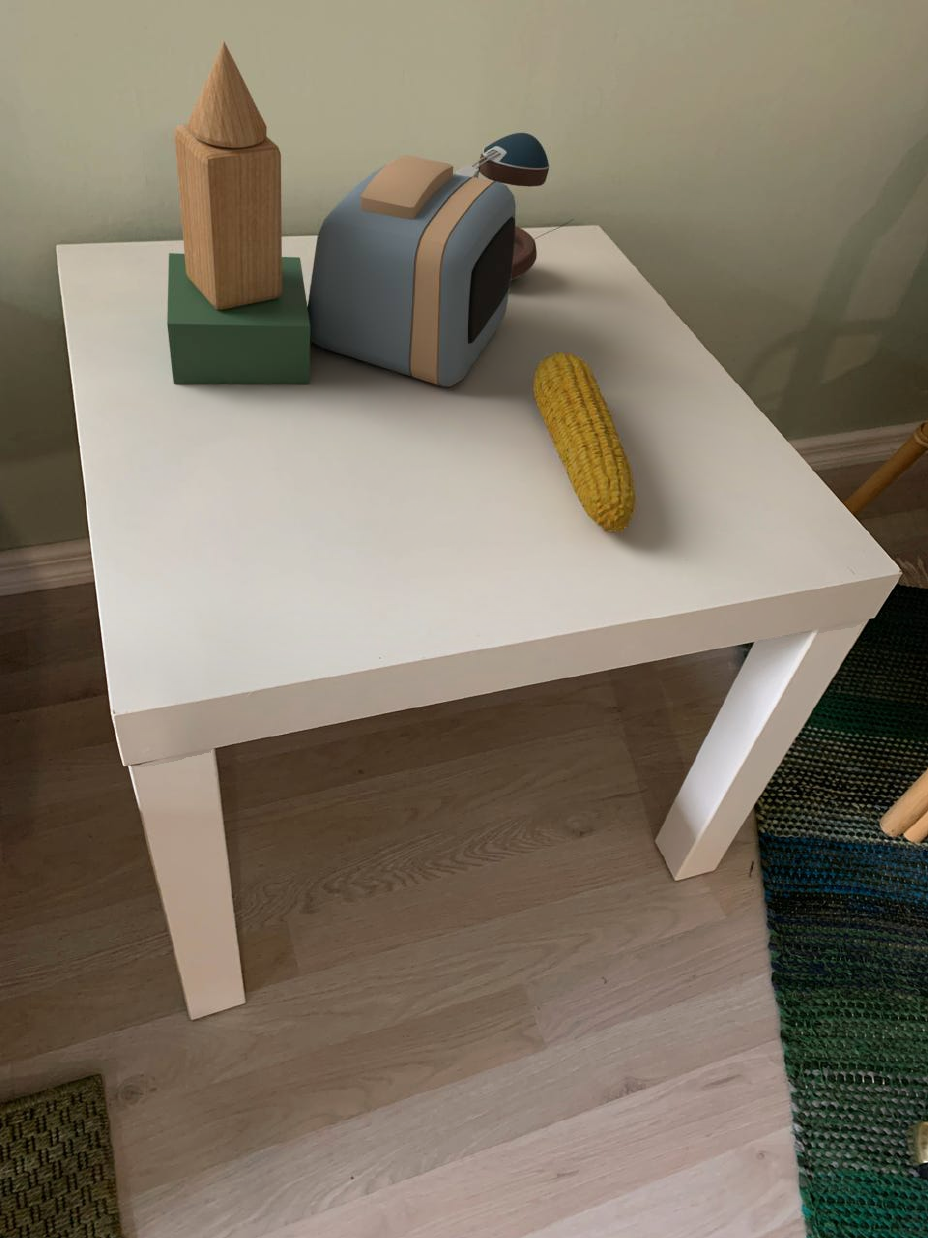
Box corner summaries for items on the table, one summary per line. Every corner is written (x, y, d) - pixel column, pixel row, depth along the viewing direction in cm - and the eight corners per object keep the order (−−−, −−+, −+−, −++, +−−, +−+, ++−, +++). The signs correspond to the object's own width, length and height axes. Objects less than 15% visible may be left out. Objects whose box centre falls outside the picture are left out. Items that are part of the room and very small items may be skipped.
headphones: (549, 231, 112) (406, 297, 102) (569, 97, 100) (409, 157, 90) (588, 255, 109) (445, 325, 100) (613, 121, 97) (453, 185, 88)
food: (520, 396, 91) (532, 341, 86) (576, 395, 92) (590, 341, 88) (586, 550, 77) (604, 494, 73) (650, 546, 79) (671, 491, 74)
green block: (173, 383, 85) (167, 323, 80) (174, 311, 92) (168, 252, 88) (309, 384, 87) (310, 325, 83) (299, 313, 95) (300, 256, 91)
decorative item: (285, 299, 85) (283, 53, 71) (215, 314, 82) (199, 60, 68) (251, 264, 89) (243, 22, 74) (183, 277, 86) (161, 27, 71)
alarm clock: (456, 400, 89) (481, 237, 77) (297, 349, 91) (297, 182, 79) (508, 319, 100) (537, 165, 88) (365, 275, 102) (374, 119, 90)
